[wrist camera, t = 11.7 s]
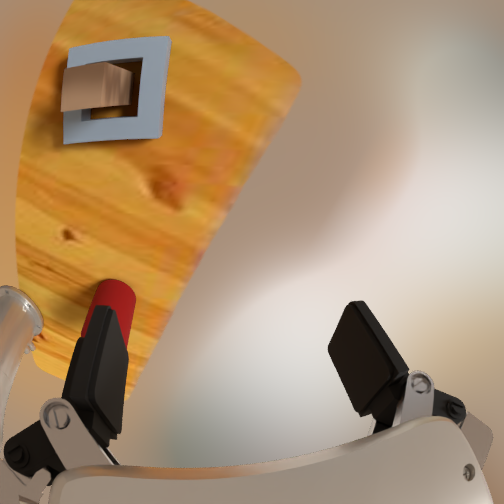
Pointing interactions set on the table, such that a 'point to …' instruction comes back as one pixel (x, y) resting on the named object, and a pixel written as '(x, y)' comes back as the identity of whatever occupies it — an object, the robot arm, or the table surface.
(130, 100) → the walnut peg
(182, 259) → the table surface
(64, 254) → the table surface
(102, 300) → the beverage can
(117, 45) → the grey square frame
